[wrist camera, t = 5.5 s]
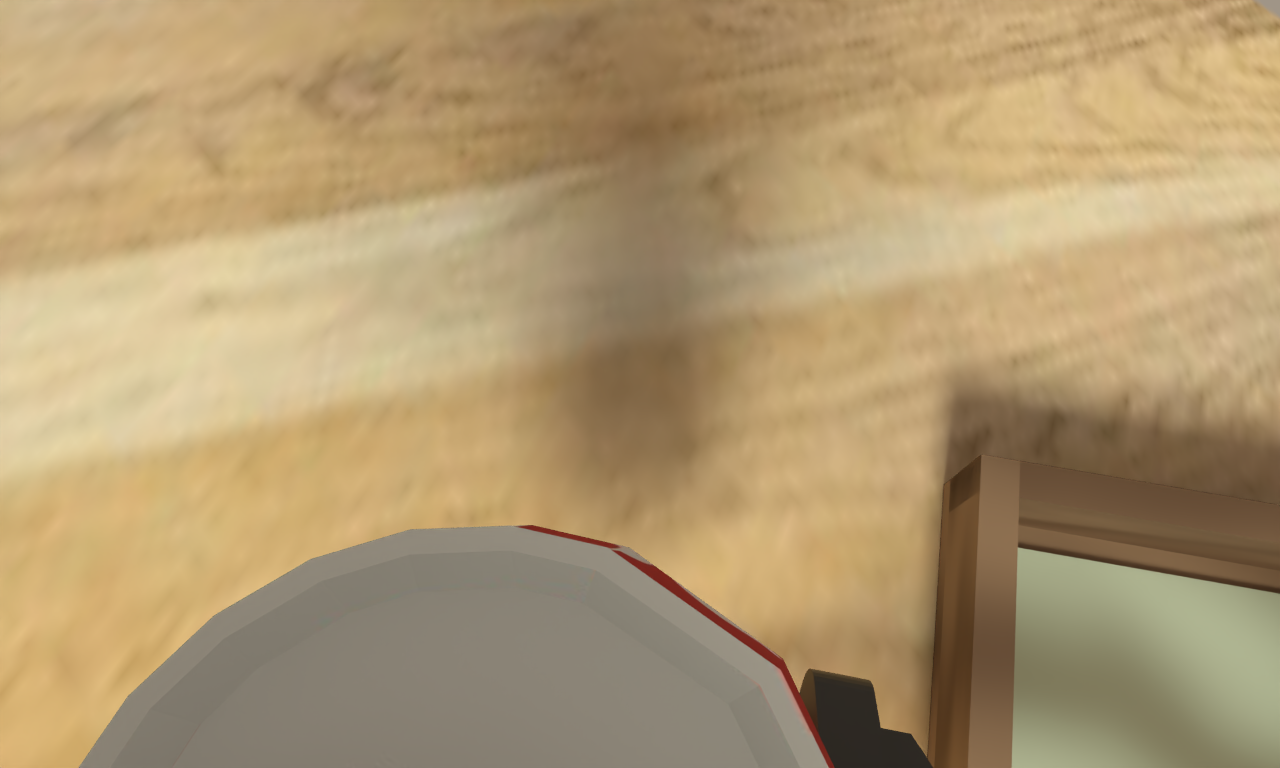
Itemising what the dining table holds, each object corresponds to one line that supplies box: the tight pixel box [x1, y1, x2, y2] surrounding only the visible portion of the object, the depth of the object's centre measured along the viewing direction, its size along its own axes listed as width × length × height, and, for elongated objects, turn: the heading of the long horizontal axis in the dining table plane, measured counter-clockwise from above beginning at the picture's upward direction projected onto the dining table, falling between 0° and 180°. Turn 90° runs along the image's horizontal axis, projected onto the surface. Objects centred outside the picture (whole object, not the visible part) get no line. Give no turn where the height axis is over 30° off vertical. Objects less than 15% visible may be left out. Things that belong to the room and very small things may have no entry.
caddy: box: [928, 454, 1280, 768], centre depth 22 cm, size 11×11×3 cm
